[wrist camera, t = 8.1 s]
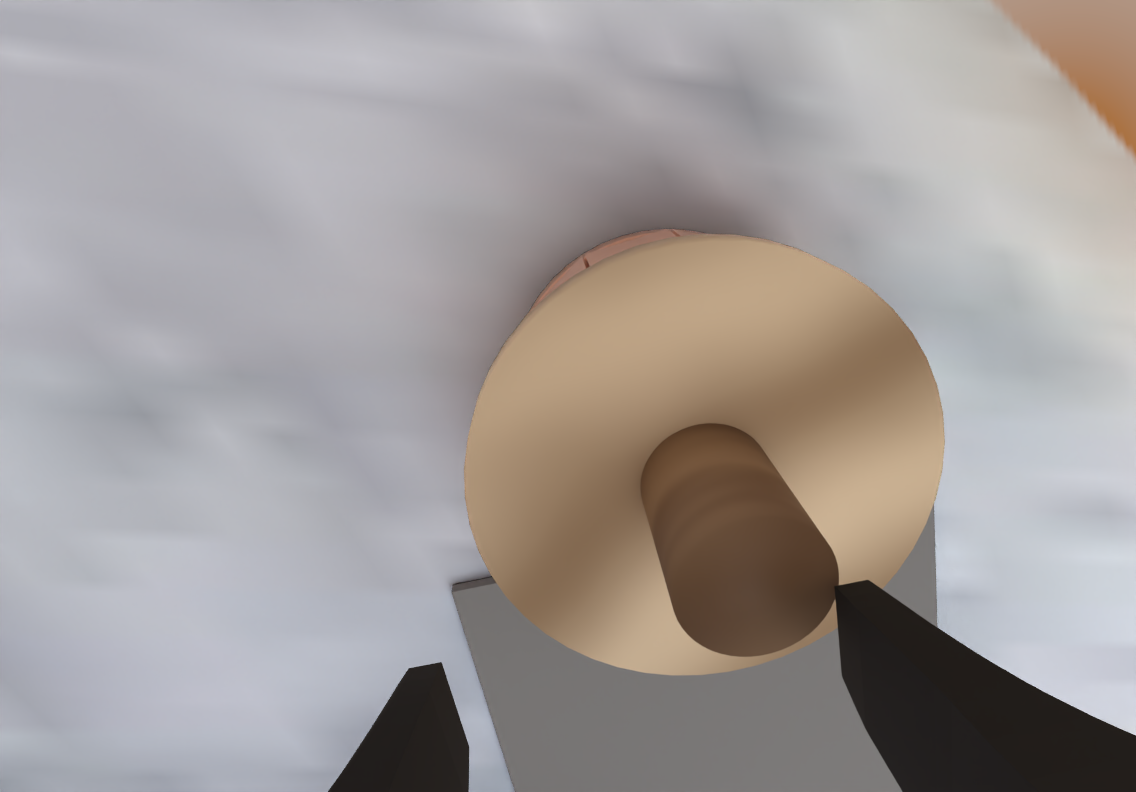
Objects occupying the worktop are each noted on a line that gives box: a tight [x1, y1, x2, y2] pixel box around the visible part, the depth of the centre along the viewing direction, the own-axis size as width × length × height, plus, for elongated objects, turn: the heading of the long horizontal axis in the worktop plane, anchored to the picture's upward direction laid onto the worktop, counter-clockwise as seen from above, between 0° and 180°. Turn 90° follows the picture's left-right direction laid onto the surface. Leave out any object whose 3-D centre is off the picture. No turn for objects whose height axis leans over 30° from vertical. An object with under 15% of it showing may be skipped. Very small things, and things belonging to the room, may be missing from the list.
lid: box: [464, 234, 945, 675], centre depth 15 cm, size 11×11×5 cm
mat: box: [452, 504, 937, 792], centre depth 26 cm, size 13×16×1 cm
